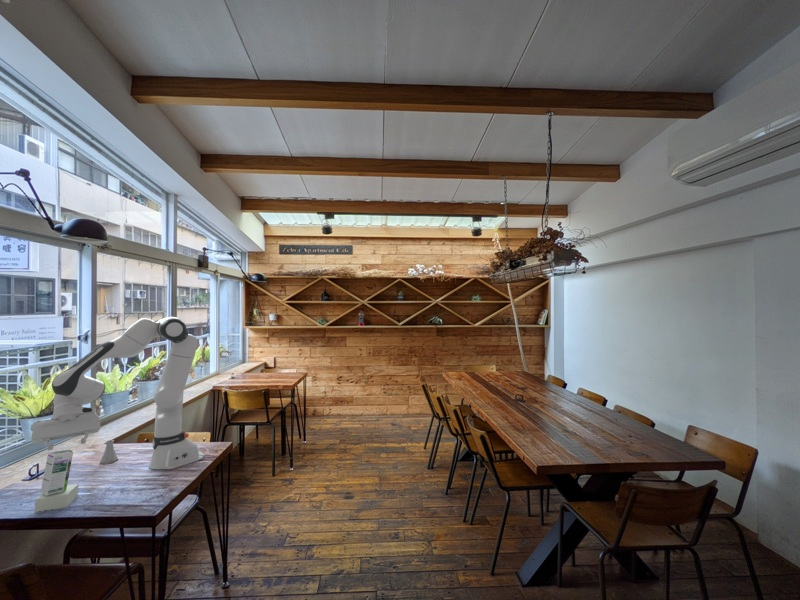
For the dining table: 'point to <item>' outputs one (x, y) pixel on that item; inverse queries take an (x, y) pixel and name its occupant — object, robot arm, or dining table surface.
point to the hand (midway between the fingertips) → (67, 446)
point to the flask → (109, 453)
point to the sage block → (56, 499)
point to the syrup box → (56, 472)
